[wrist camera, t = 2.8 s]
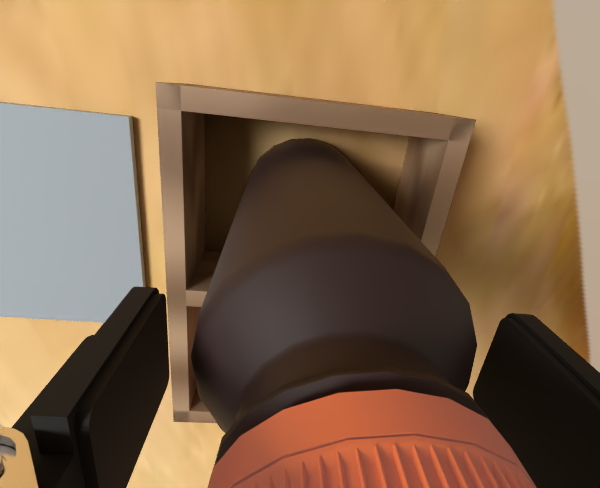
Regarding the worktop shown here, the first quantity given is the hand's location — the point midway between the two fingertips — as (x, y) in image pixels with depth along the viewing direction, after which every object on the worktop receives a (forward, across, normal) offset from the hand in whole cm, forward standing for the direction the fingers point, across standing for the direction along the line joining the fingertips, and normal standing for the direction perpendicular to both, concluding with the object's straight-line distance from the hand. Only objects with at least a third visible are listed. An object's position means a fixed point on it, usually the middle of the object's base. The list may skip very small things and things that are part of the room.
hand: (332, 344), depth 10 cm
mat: (+14, +17, +3) cm, 22 cm away
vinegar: (+14, 0, -1) cm, 14 cm away
